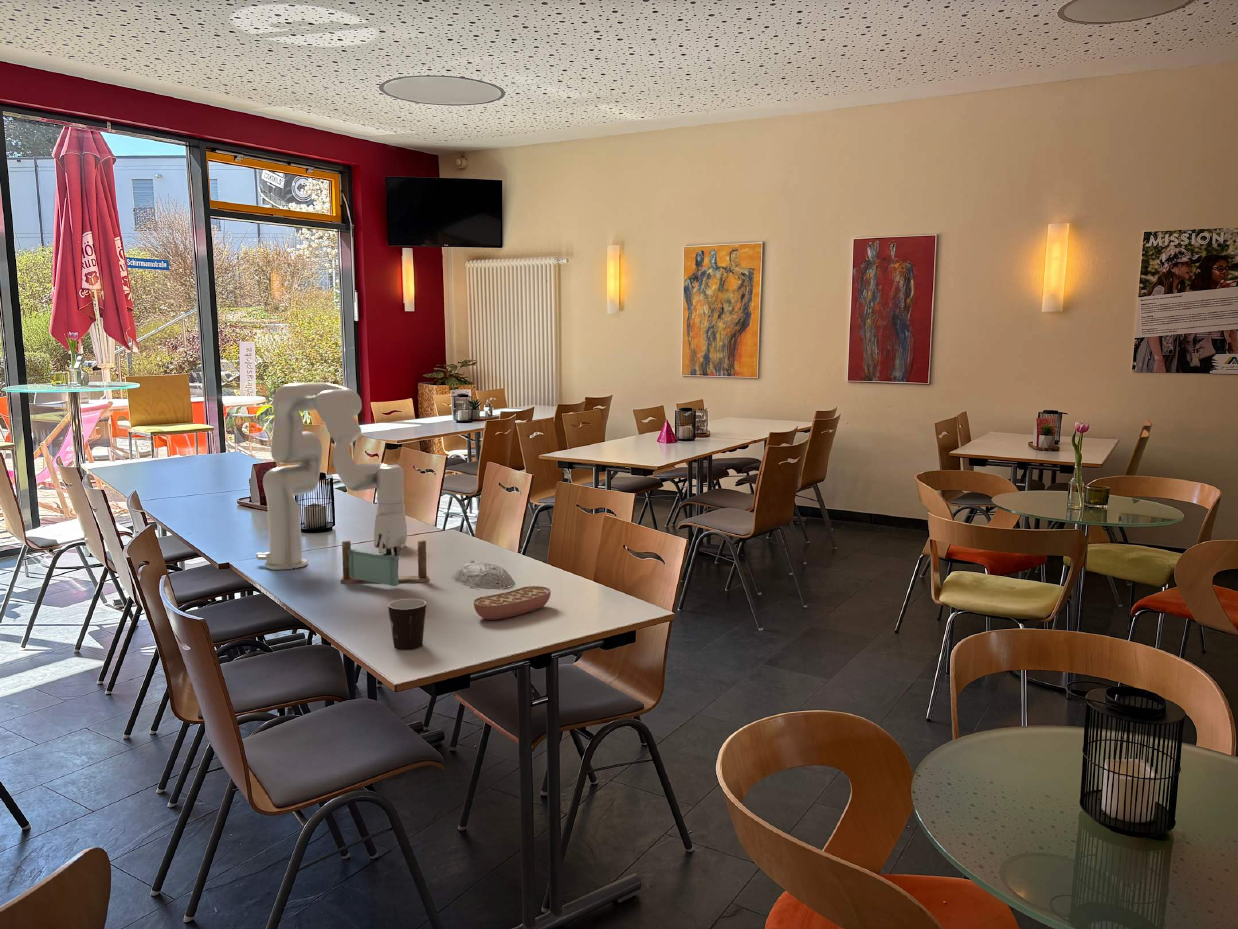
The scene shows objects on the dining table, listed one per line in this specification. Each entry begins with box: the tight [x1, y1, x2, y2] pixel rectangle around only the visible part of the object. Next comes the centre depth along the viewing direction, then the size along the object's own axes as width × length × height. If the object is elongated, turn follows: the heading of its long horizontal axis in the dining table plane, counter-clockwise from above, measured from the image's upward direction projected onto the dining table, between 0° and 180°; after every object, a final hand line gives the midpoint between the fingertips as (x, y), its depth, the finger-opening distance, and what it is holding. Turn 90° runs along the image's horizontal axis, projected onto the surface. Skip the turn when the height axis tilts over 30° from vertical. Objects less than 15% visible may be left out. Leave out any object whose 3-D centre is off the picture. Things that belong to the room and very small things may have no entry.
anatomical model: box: [473, 585, 552, 621], centre depth 226 cm, size 23×10×5 cm, turn 135°
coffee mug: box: [387, 598, 427, 651], centre depth 199 cm, size 12×9×10 cm
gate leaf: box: [347, 548, 400, 587], centre depth 251 cm, size 19×2×8 cm, turn 60°
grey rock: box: [452, 560, 516, 590], centre depth 259 cm, size 16×25×7 cm, turn 44°
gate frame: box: [340, 539, 430, 584], centre depth 257 cm, size 25×4×12 cm, turn 94°
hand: (392, 570), depth 253 cm, fingers closed
